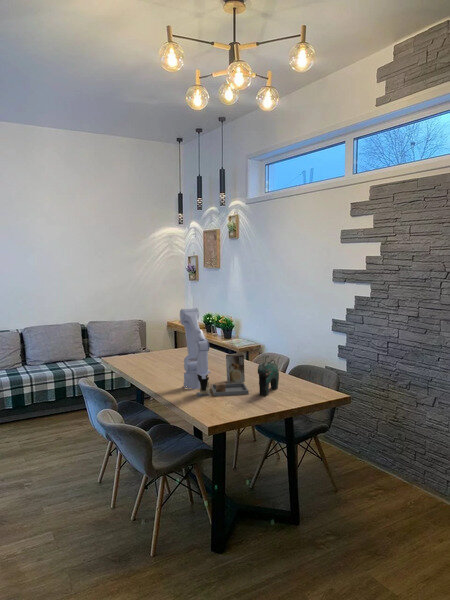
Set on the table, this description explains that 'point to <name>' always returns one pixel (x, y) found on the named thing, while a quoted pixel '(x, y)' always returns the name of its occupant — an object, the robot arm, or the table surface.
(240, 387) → the bin
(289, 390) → the table surface
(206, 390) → the birch box
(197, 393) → the slate coaster
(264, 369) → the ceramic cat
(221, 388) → the walnut box
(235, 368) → the coffee box
